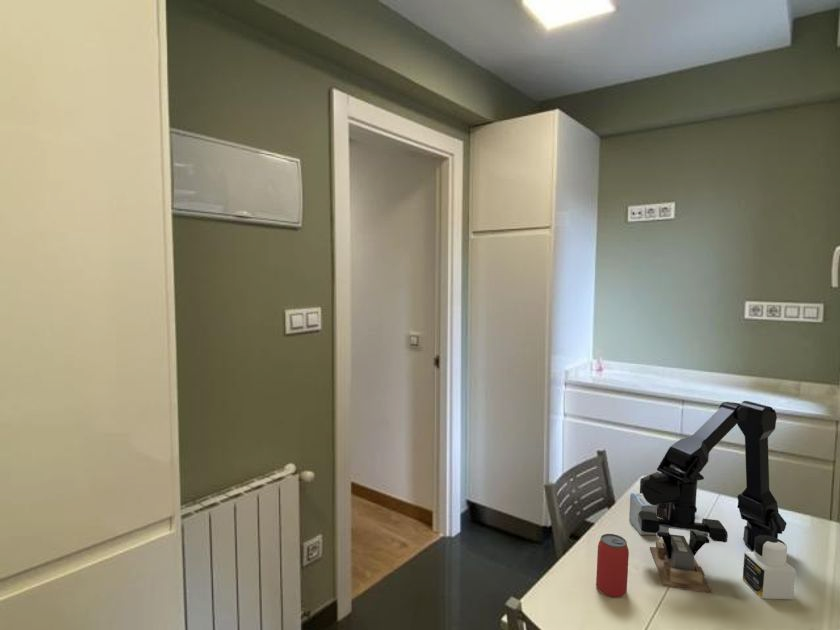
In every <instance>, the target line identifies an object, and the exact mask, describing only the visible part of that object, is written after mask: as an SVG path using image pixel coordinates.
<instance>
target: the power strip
mask: <svg viewBox="0 0 840 630" xmlns="http://www.w3.org/2000/svg"><path fill="white" fill-rule="evenodd" d="M670 535H671V558H670V559H669V558H668V560H669V562H671V565H672V567H673V568H675V569H682V570H688V571H693V566H694V558H695V556H694V554H693V552H692V551H691V549H690V547H689V542H687V541H688V540H687V539H686V537H685V536H684V535H679V534H671V533H670ZM666 555H667V552H666ZM667 557H668V556H667Z"/></svg>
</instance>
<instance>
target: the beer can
mask: <svg viewBox="0 0 840 630" xmlns="http://www.w3.org/2000/svg"><path fill="white" fill-rule="evenodd" d="M597 544H598V545H597V554H596V555H597V557H596V576H595V577H596V578H595V580H596V581H595V582H596V583H595V586H596V589H597V590H598V591H599V592H600V593H601V594H603V595H605V596H606V597H609V598H612V599H613V598H614V599H617V598H619V599H620V598H623V597H625V596H626V594H627V591H628V575H629V558H630V555H629V554H630V553H629V547H628V542H627V540H626V539H625V538H624V537H622V536H621V535H619V534H615V533H604V534H602V535H601V536H600V540H599V541H598V543H597Z"/></svg>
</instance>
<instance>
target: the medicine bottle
mask: <svg viewBox="0 0 840 630" xmlns="http://www.w3.org/2000/svg"><path fill="white" fill-rule="evenodd" d="M787 553H788V546H787V544H786V543H785V542H784V541H782V540H781V539H780V538H778V539H777V538H775V537H772V536H767V535H759V536H757V537H755V544H754V551H744V555H743V557H744V558H743V570H742V580H743V581H744V582H745V583H746V584H747V585H748V586H749V587H750V588H751V589H752V590H753V591H754V592H755V593H756V594H757V596H759V597H760V599H763V600H765V599H766V600H768V599H769V600H770V599H771V600H794V596H795V595H794V594H795V583H796V574H797V573H796V572H797V570H796V569H795V568H794V567H793V566H792V565H790V564H789V563H788V562H787Z"/></svg>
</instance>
